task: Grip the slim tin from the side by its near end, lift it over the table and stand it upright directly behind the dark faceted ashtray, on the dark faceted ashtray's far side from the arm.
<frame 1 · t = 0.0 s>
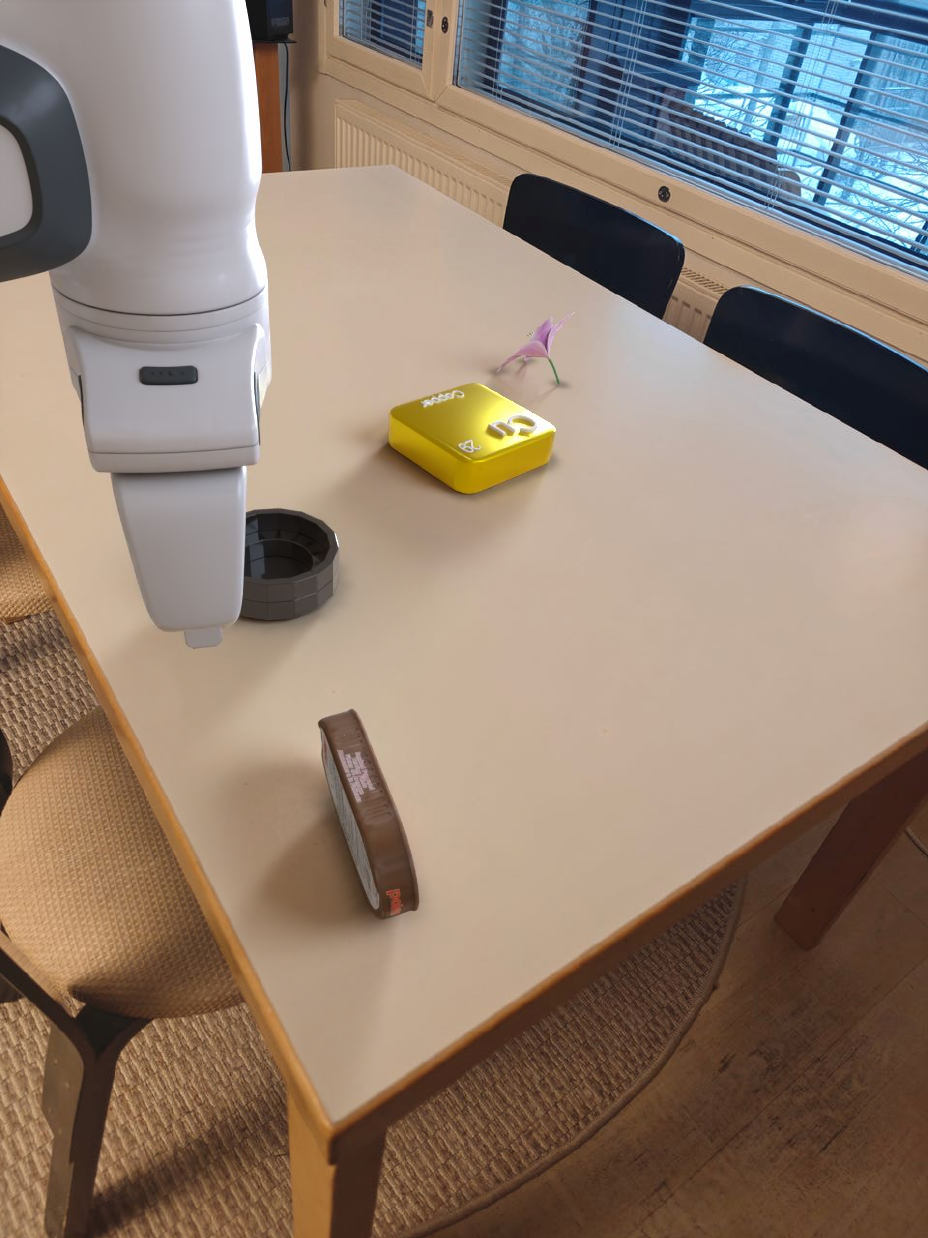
hand: (200, 581, 48), 21 cm above the table, tool pointing down, fingers open, 8 cm apart
element tile: (469, 452, 103), on the table
lily: (533, 375, 121), on the table
dark faceted ashtray: (275, 583, 81), on the table
tin: (362, 847, 60), on the table
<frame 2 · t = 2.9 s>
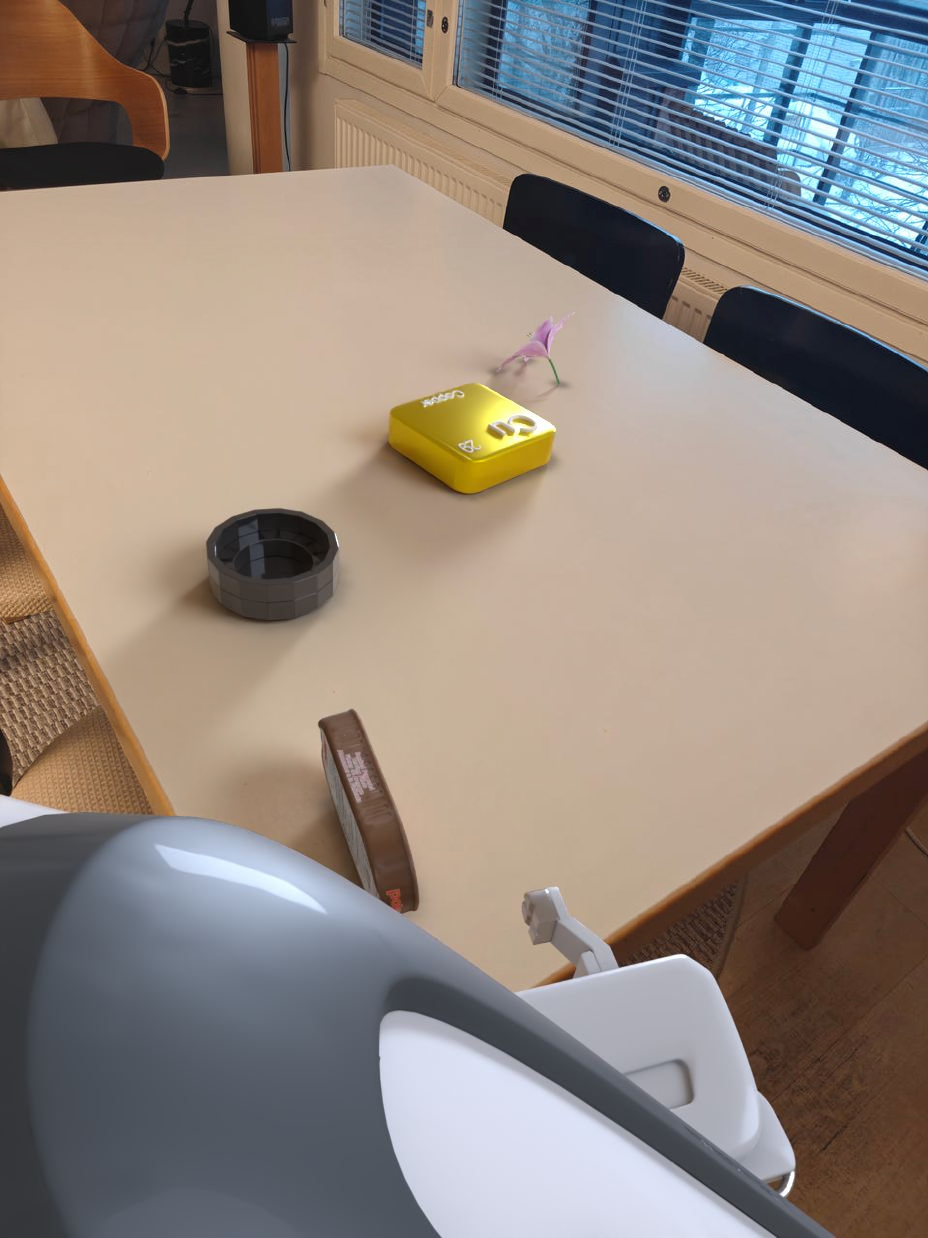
hand: (436, 916, 37), 17 cm above the table, tool horizontal, fingers open, 8 cm apart
nothing on the table moved.
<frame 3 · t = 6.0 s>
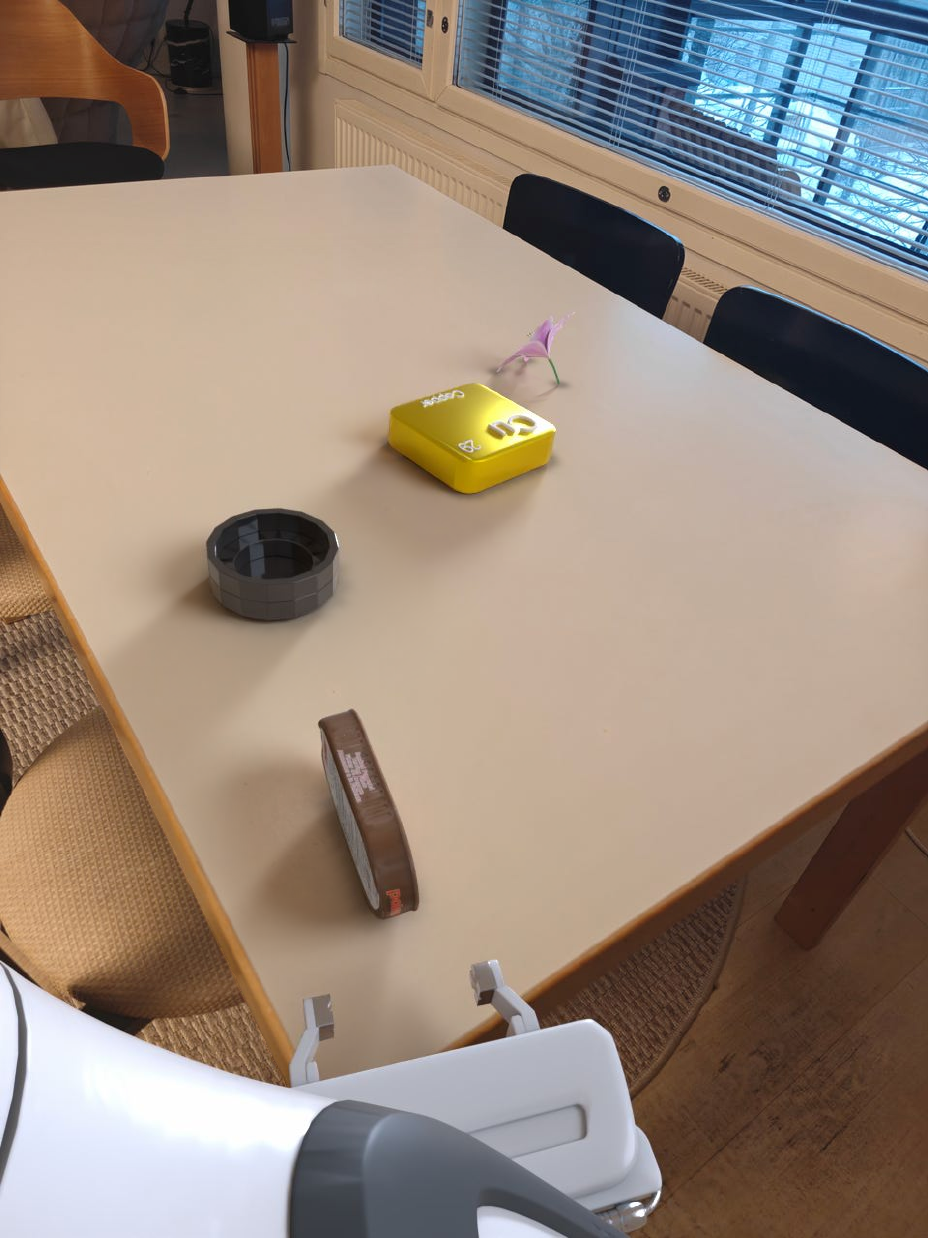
hand: (401, 983, 48), 5 cm above the table, tool horizontal, fingers open, 8 cm apart
nothing on the table moved.
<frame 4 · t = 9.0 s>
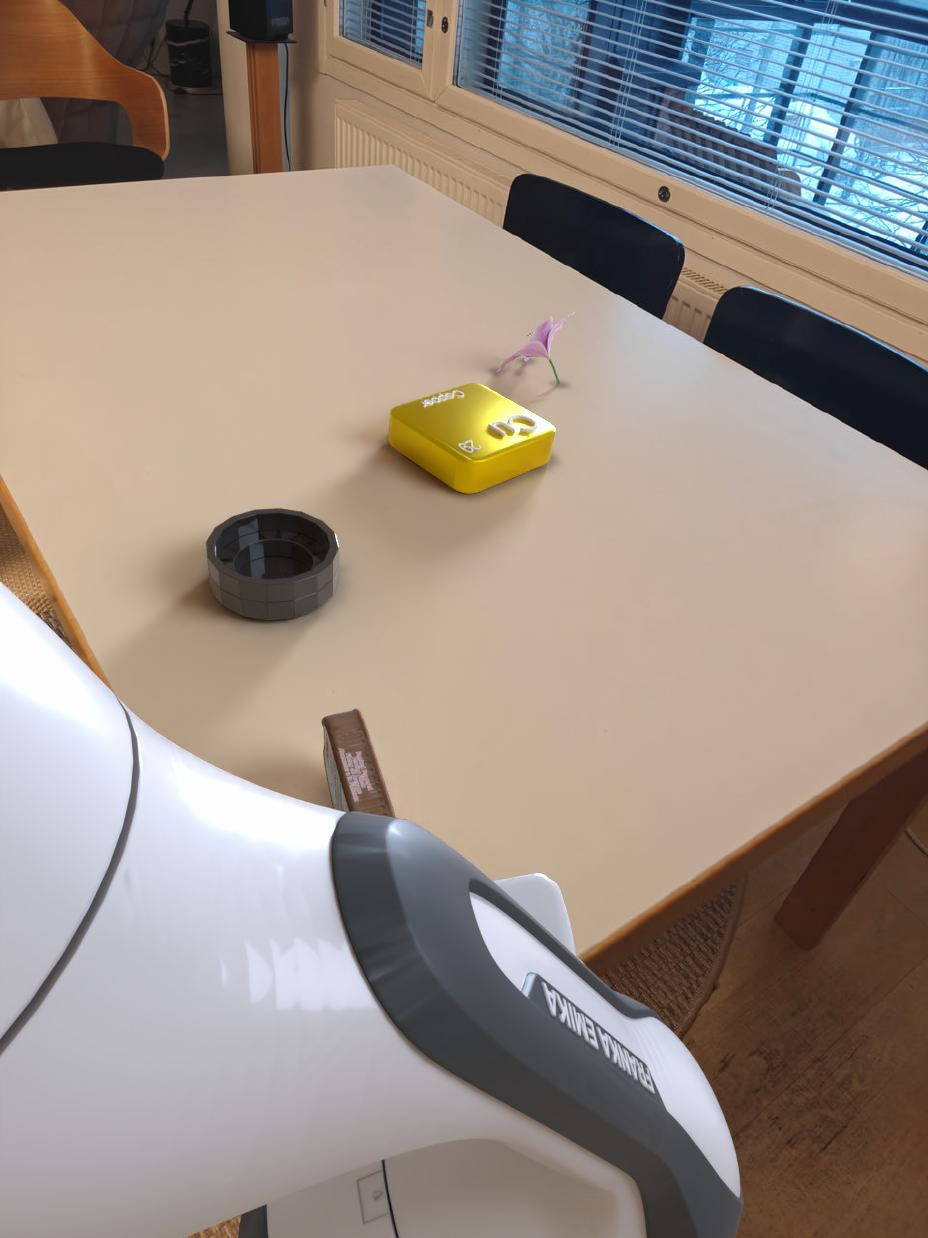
hand: (375, 846, 54), 5 cm above the table, tool horizontal, fingers closed on tin, 3 cm apart
tin: (357, 848, 60), on the table, touching gripper
everything else where it was.
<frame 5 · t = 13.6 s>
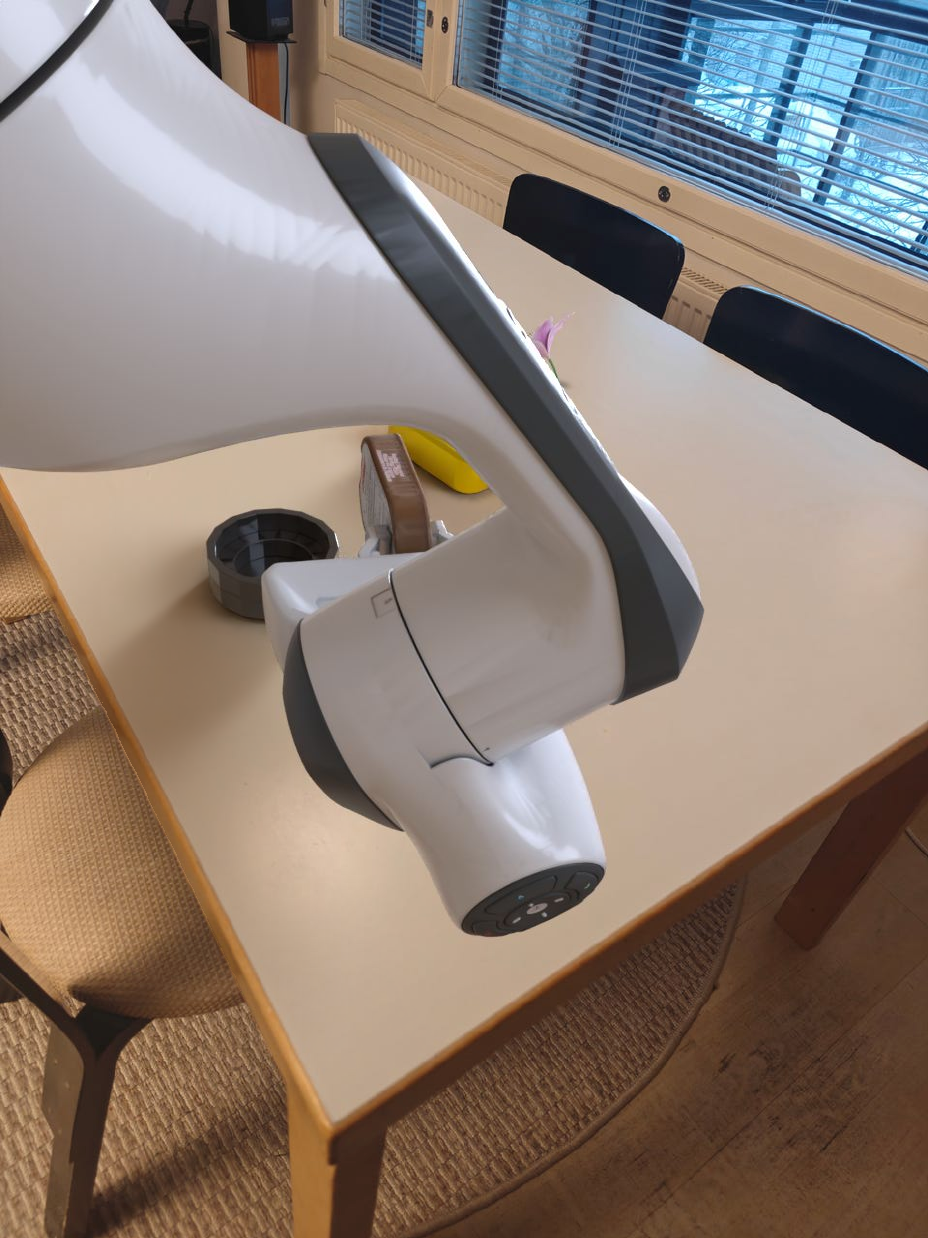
hand: (402, 530, 60), 17 cm above the table, tool horizontal, fingers closed on tin, 2 cm apart
tin: (384, 561, 66), point 12 cm above the table, touching gripper
everything else where it was.
when the fingers open (5 cm above the table, at t = 18.3 s): tin moves 1 cm, on the table.
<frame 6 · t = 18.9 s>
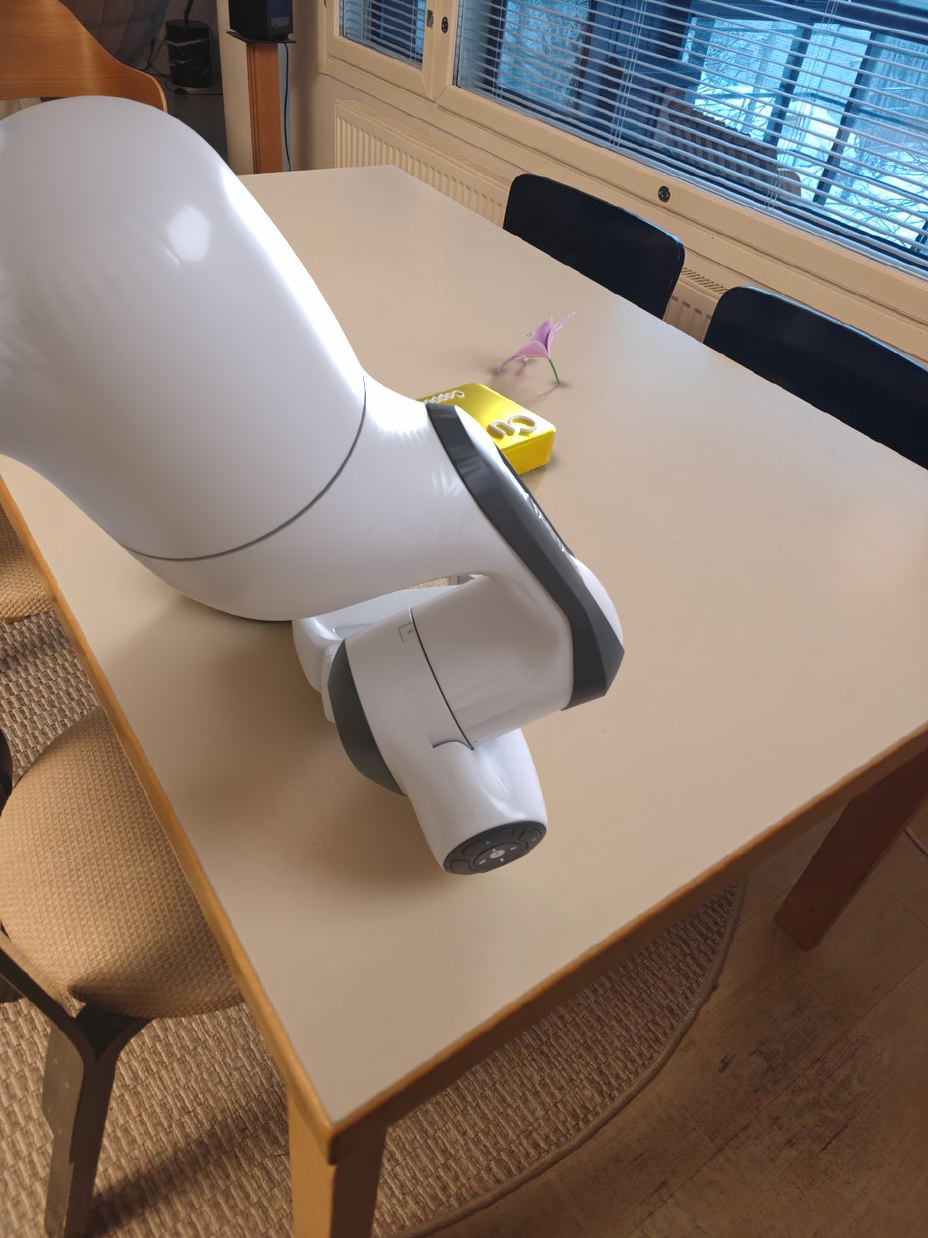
hand: (400, 569, 76), 5 cm above the table, tool horizontal, fingers open, 8 cm apart
tin: (373, 596, 81), on the table
everything else where it was.
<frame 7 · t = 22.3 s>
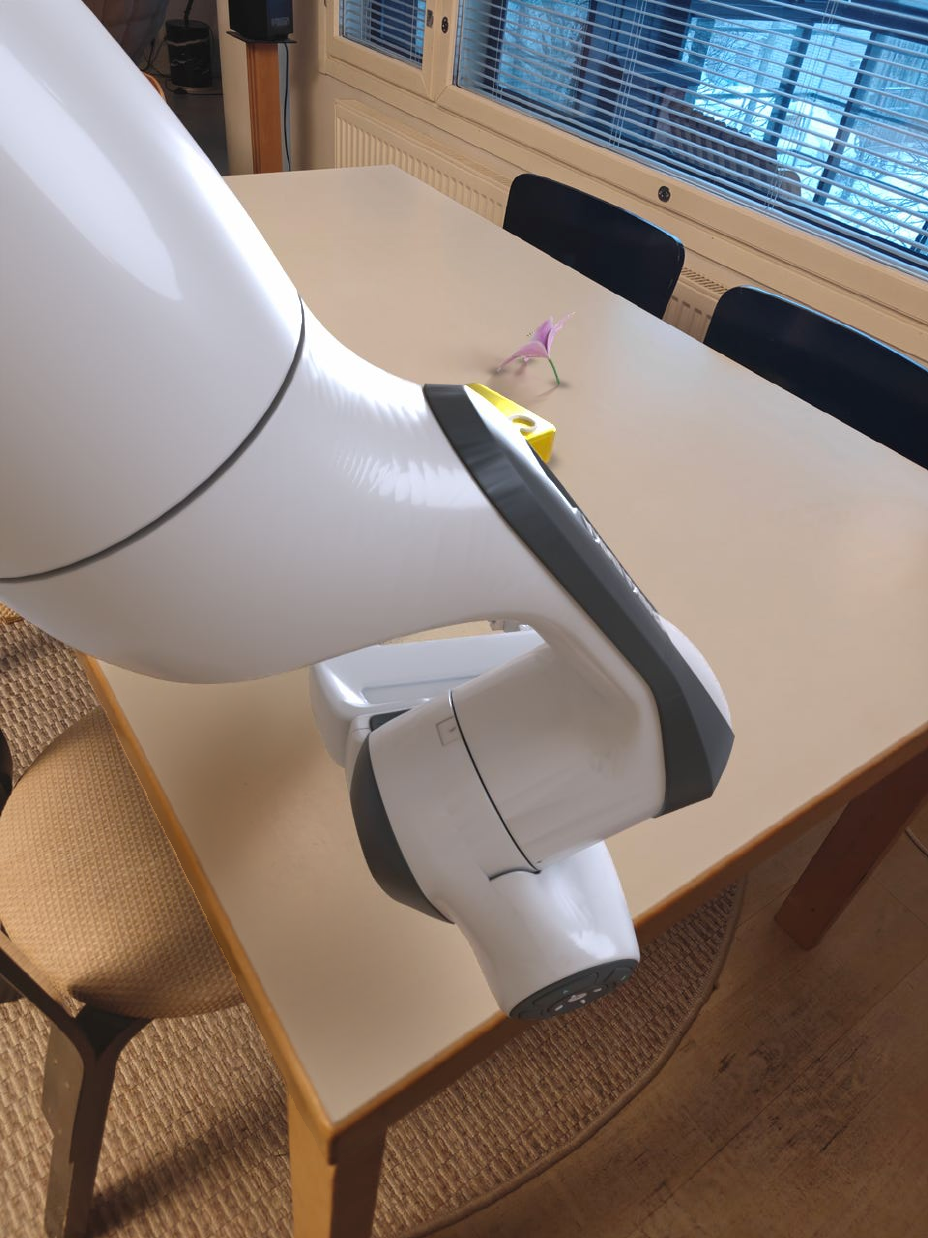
hand: (435, 611, 64), 10 cm above the table, tool horizontal, fingers open, 8 cm apart
nothing on the table moved.
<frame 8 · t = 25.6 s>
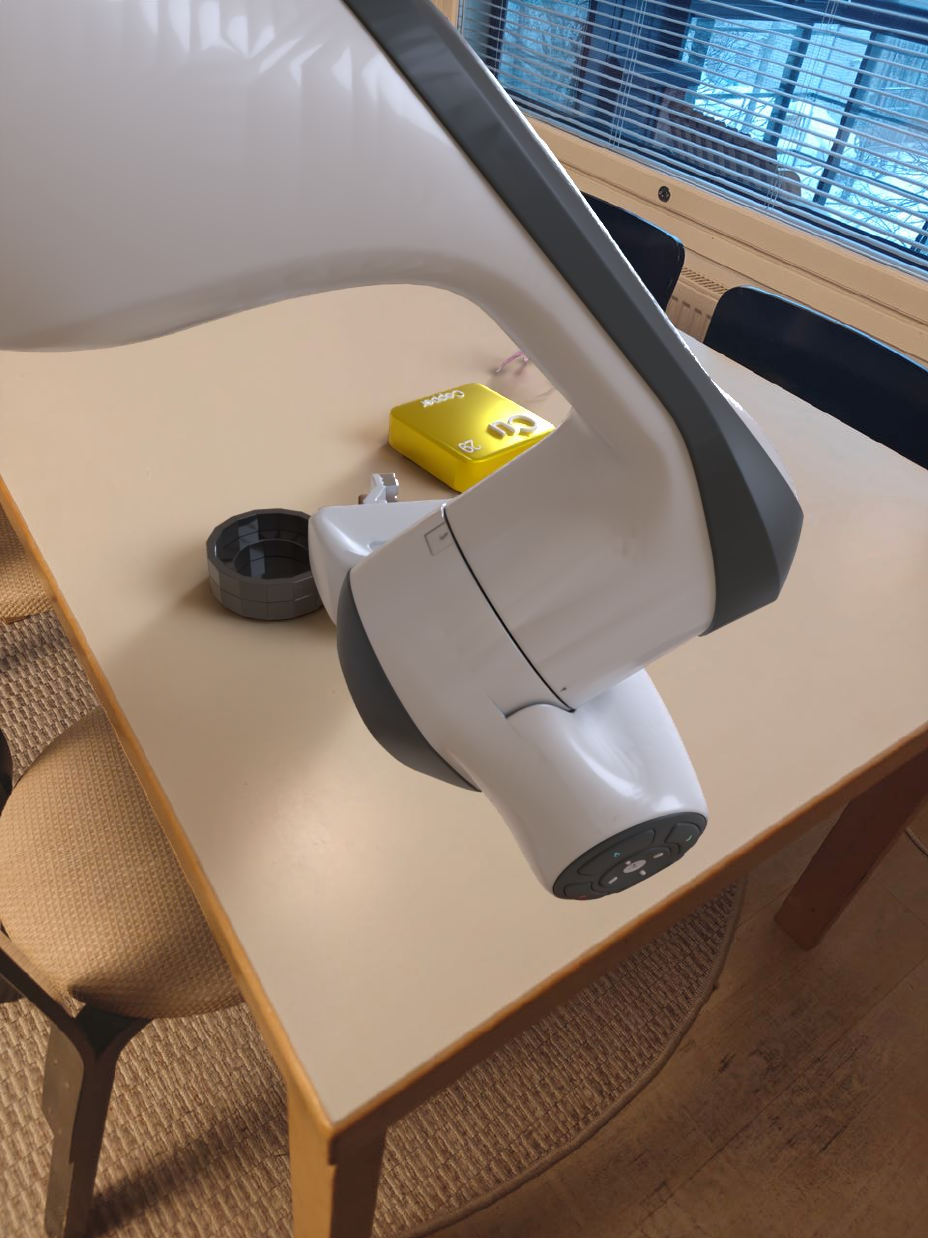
hand: (452, 478, 56), 22 cm above the table, tool horizontal, fingers open, 8 cm apart
nothing on the table moved.
at the end: tin inside the target area on the table beside the dark faceted ashtray (2.4 cm from its centre), on the table; tin tilted 0° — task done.
